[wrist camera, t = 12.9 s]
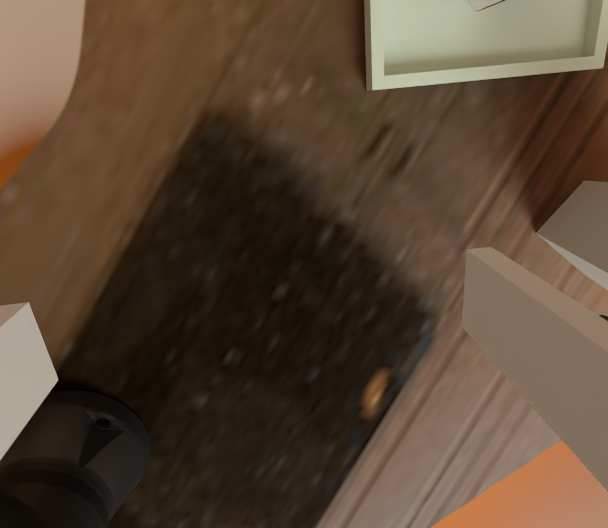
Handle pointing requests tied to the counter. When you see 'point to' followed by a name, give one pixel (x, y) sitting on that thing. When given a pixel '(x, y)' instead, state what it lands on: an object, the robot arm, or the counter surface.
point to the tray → (480, 40)
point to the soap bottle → (582, 230)
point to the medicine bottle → (483, 4)
